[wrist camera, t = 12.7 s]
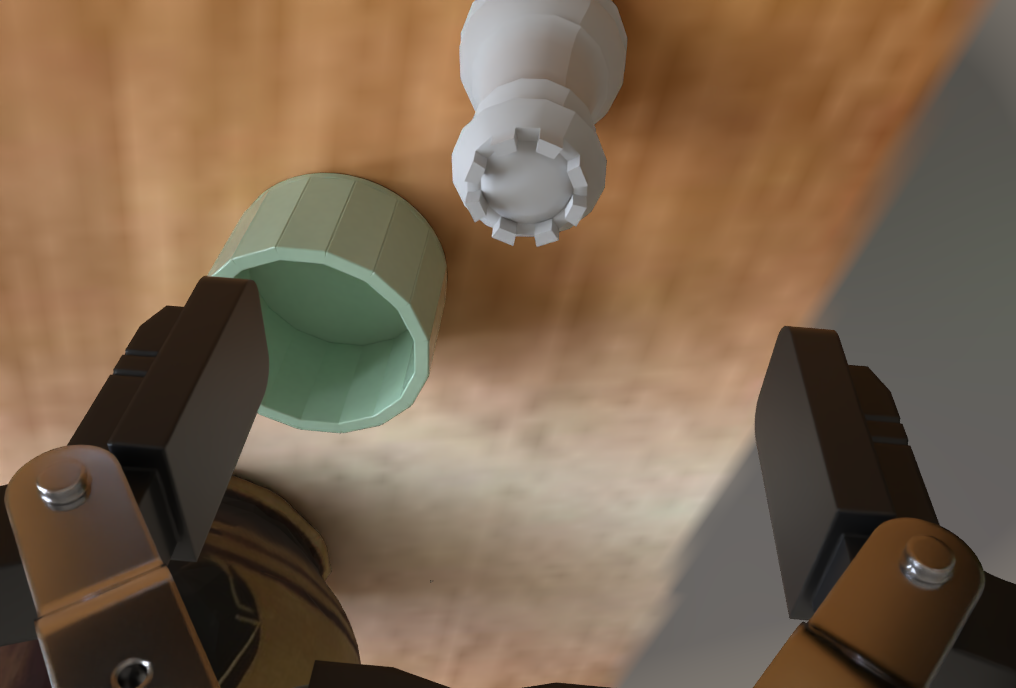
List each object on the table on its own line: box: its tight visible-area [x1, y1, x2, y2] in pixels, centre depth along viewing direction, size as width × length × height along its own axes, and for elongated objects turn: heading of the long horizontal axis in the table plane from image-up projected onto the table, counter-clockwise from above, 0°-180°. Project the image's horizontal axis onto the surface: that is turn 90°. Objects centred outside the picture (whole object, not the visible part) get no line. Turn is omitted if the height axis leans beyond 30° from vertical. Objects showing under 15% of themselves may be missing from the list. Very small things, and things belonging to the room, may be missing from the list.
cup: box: [207, 173, 447, 433], centre depth 28 cm, size 7×7×4 cm
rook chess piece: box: [452, 0, 627, 247], centre depth 21 cm, size 4×4×8 cm
